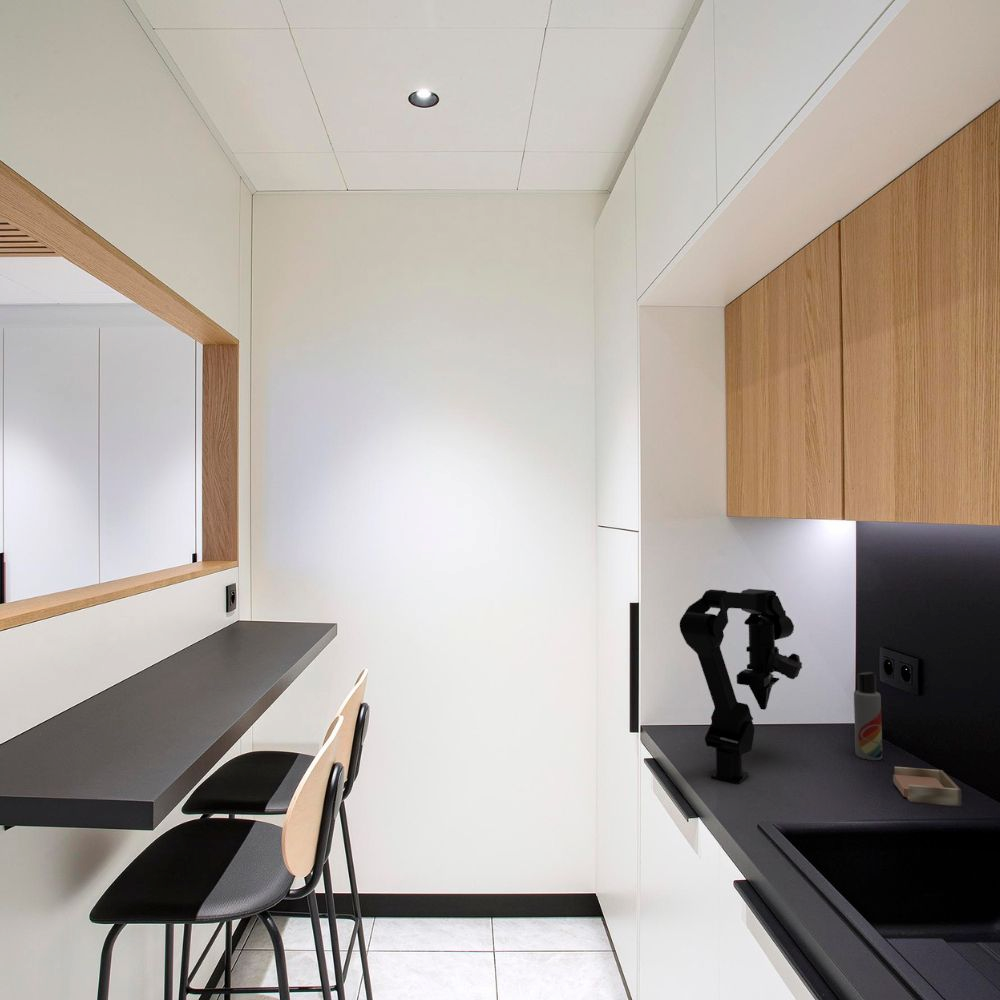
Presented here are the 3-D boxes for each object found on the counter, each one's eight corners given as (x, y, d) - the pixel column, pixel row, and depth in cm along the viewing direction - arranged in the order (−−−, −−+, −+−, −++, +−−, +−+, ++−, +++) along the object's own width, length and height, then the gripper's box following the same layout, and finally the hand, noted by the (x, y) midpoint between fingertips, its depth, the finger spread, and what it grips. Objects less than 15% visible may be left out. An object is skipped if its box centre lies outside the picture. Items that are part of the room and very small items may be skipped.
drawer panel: (903, 788, 140) (948, 792, 138) (893, 774, 148) (935, 777, 146) (903, 796, 140) (948, 800, 138) (893, 782, 148) (936, 785, 146)
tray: (910, 802, 138) (909, 785, 138) (894, 781, 149) (894, 766, 149) (961, 806, 136) (961, 790, 136) (942, 785, 147) (941, 770, 147)
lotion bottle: (882, 762, 161) (879, 675, 161) (854, 758, 164) (852, 673, 164) (883, 755, 166) (880, 670, 166) (856, 751, 169) (854, 668, 169)
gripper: (785, 652, 152) (787, 724, 151) (808, 640, 166) (810, 705, 166) (735, 647, 158) (736, 716, 158) (761, 636, 173) (762, 698, 173)
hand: (763, 709), depth 163 cm, fingers closed
